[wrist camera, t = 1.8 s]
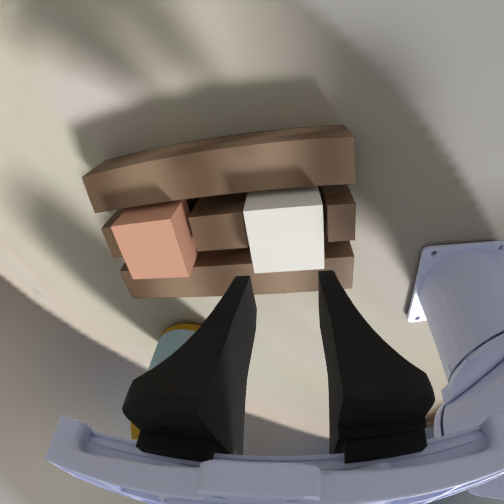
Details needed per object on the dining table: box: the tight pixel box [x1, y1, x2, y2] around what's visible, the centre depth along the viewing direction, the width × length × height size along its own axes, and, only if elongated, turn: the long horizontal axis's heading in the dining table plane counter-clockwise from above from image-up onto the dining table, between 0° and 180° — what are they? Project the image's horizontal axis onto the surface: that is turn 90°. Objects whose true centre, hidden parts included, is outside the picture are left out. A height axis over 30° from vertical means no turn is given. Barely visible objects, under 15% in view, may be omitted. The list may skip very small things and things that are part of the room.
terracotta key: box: [111, 199, 199, 279], centre depth 19 cm, size 4×4×3 cm
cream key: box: [243, 186, 324, 273], centre depth 18 cm, size 4×4×3 cm
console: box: [82, 125, 356, 298], centre depth 20 cm, size 16×10×3 cm, turn 99°
